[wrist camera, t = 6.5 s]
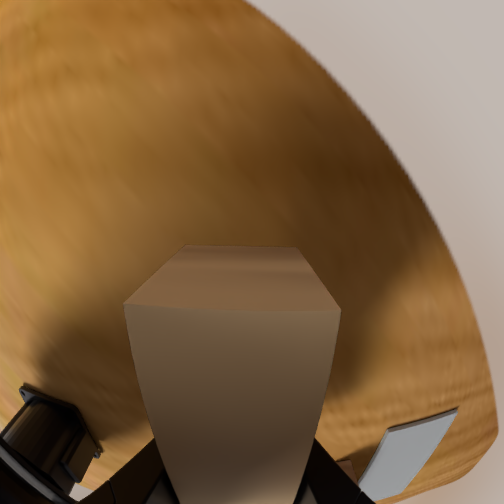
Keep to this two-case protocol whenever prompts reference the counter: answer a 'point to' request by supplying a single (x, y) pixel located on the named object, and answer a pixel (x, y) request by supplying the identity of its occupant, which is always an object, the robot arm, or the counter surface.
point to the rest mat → (403, 455)
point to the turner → (233, 369)
